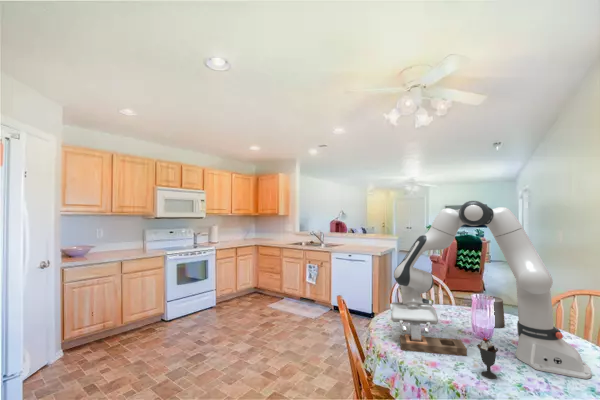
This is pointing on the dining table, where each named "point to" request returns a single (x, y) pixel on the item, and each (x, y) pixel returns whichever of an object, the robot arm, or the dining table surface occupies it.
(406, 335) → the walnut rail
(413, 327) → the steel post
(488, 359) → the sundae
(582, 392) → the dining table surface
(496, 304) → the pillar candle
